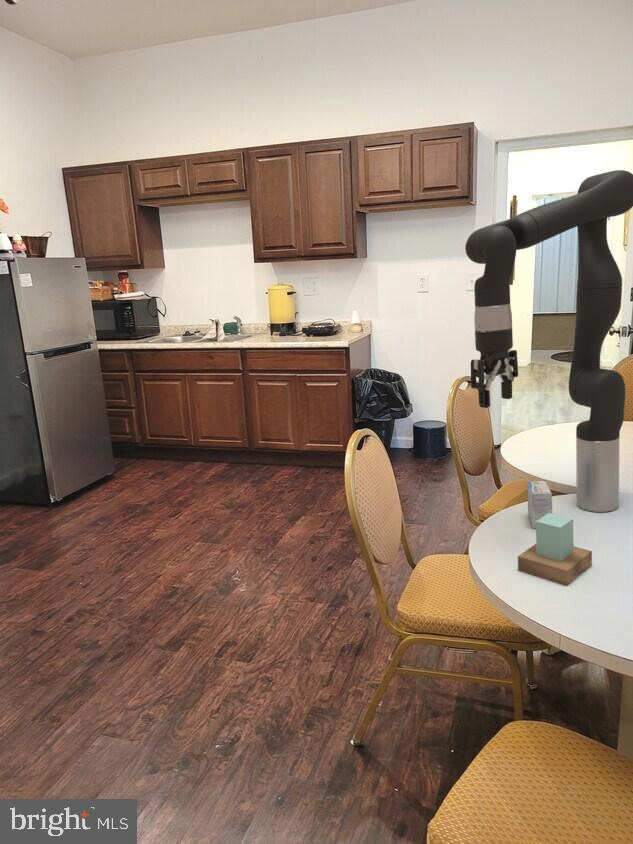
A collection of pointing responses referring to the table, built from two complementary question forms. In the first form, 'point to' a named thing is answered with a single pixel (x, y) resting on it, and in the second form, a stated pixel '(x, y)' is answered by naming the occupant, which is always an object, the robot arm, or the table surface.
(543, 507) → the medicine box
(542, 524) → the teal block
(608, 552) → the table surface
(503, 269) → the robot arm
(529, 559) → the walnut base
